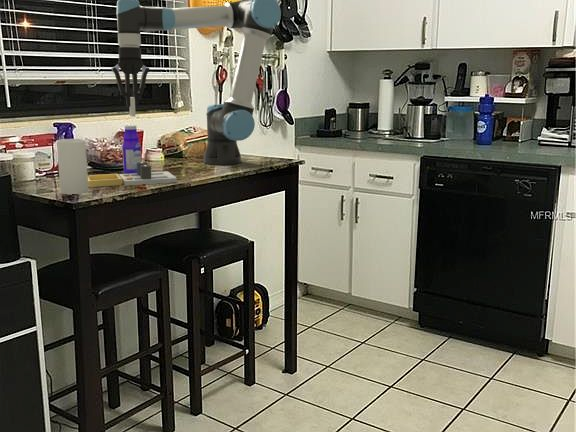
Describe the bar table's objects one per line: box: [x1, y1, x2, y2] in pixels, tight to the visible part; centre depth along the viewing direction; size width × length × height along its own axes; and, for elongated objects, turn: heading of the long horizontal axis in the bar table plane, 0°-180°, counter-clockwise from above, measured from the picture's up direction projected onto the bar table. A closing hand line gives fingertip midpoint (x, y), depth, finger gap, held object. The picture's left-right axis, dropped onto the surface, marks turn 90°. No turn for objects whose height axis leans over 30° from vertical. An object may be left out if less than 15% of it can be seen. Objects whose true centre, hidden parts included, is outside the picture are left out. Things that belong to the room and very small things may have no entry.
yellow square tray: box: [88, 173, 123, 188], centre depth 207 cm, size 11×11×2 cm
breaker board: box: [118, 171, 178, 187], centre depth 213 cm, size 17×14×2 cm
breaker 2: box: [140, 164, 152, 179], centre depth 208 cm, size 3×3×4 cm
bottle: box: [122, 124, 143, 174], centre depth 223 cm, size 7×6×17 cm
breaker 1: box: [137, 161, 148, 175], centre depth 214 cm, size 3×3×4 cm
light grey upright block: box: [56, 138, 90, 196], centre depth 191 cm, size 8×8×16 cm
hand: (132, 116), depth 220 cm, fingers closed
